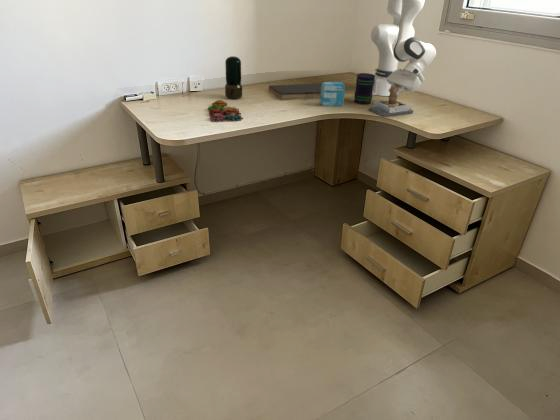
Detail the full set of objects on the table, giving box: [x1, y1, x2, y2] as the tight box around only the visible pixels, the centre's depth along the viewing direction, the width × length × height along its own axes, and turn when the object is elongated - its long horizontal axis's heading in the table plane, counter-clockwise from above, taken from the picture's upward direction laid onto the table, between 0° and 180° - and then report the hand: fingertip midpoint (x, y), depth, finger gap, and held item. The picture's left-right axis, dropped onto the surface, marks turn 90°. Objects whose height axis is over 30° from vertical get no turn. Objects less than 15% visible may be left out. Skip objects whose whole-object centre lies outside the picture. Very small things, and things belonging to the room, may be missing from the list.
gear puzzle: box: [207, 99, 244, 123], centre depth 216 cm, size 31×16×4 cm, turn 13°
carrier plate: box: [368, 99, 414, 118], centre depth 226 cm, size 13×19×4 cm
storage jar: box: [353, 72, 375, 106], centre depth 237 cm, size 10×10×15 cm
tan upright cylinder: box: [385, 86, 400, 107], centre depth 223 cm, size 7×7×10 cm
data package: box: [319, 81, 346, 107], centre depth 231 cm, size 12×4×12 cm, turn 98°
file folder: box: [268, 82, 323, 101], centre depth 252 cm, size 33×4×24 cm
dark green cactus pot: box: [224, 55, 243, 100], centre depth 234 cm, size 10×10×22 cm
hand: (392, 93), depth 222 cm, fingers closed on tan upright cylinder, 4 cm apart
